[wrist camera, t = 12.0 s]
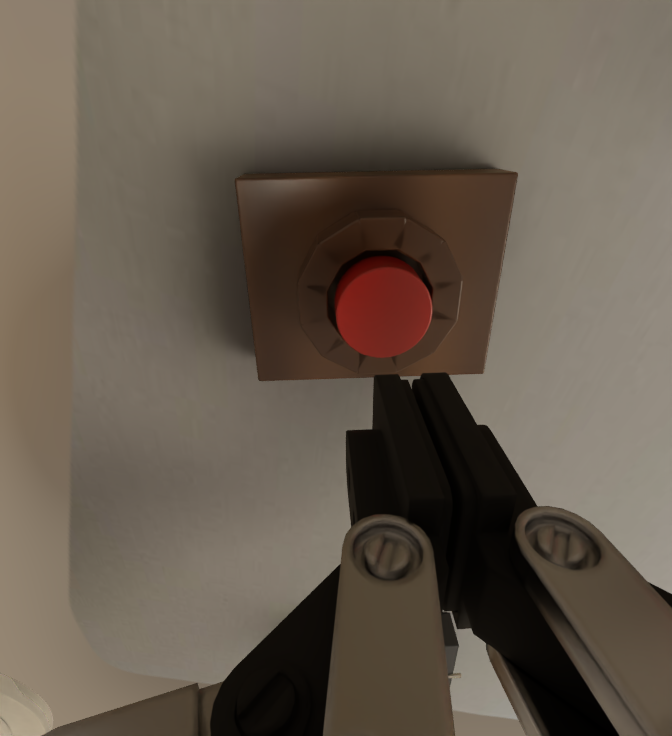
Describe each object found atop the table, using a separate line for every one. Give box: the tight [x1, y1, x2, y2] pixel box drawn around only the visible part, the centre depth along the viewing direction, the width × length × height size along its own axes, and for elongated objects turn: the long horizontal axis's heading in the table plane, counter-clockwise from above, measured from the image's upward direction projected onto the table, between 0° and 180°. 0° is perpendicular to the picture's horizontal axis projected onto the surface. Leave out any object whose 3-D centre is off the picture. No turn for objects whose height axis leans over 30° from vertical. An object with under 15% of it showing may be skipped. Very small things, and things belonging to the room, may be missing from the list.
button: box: [334, 255, 433, 358], centre depth 17 cm, size 4×4×2 cm
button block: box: [235, 169, 518, 381], centre depth 19 cm, size 11×9×4 cm
